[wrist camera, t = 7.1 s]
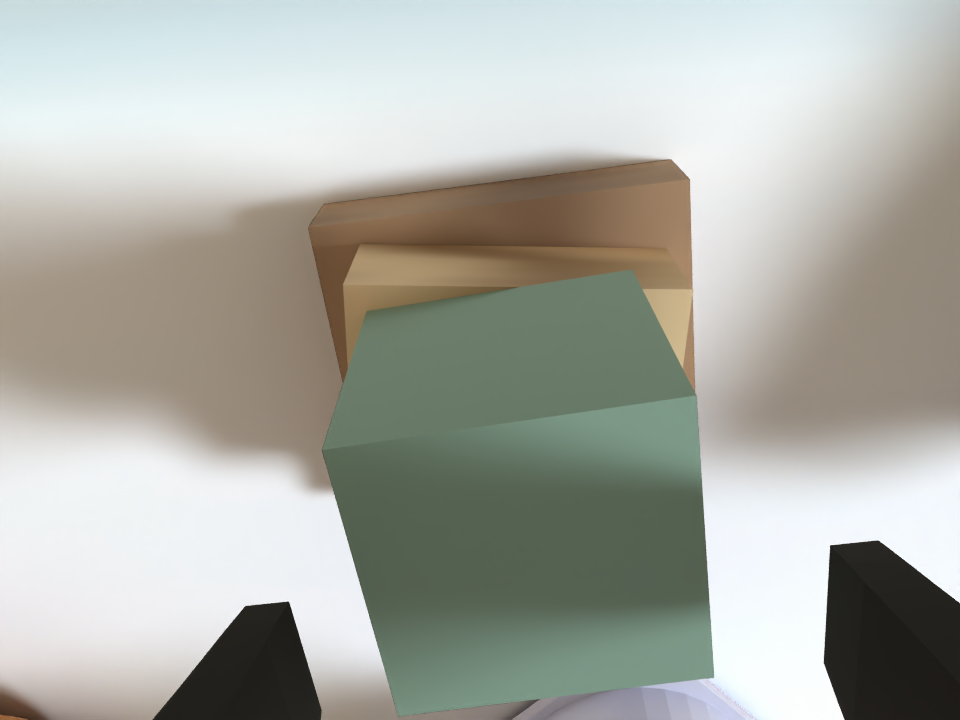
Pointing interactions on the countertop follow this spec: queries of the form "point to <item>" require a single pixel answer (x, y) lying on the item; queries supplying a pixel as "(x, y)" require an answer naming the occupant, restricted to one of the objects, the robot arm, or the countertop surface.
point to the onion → (10, 718)
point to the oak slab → (505, 278)
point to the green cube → (524, 495)
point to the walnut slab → (513, 224)
